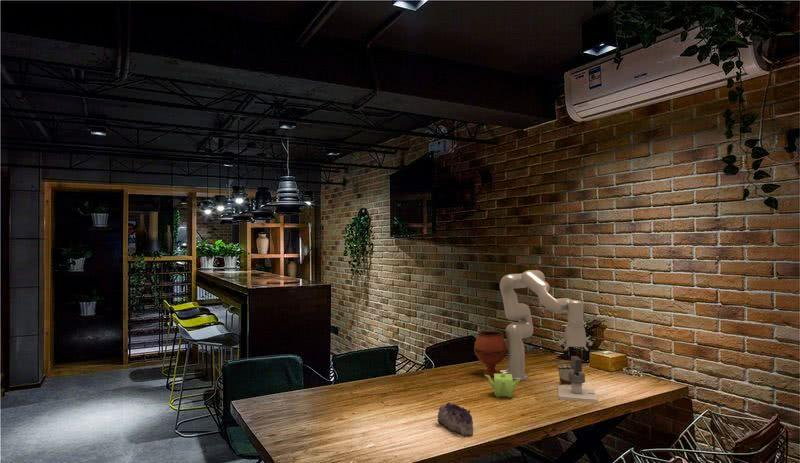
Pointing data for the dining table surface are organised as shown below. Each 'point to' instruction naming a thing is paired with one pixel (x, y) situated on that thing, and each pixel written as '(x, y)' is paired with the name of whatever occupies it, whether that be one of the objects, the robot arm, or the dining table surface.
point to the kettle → (503, 384)
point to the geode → (456, 419)
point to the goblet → (490, 349)
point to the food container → (564, 373)
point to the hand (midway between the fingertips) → (575, 357)
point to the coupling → (576, 371)
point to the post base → (576, 397)
